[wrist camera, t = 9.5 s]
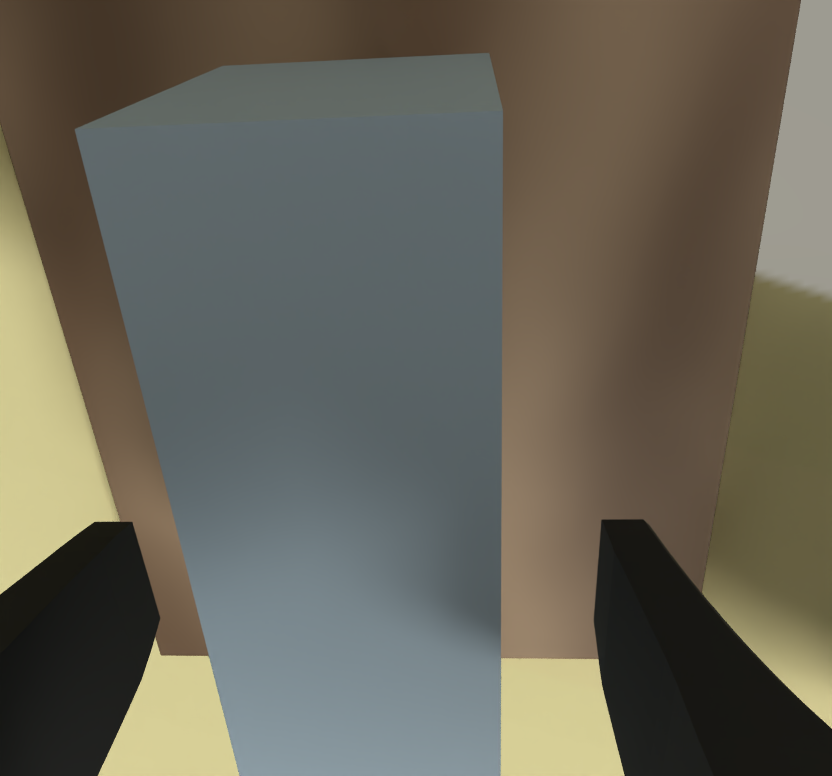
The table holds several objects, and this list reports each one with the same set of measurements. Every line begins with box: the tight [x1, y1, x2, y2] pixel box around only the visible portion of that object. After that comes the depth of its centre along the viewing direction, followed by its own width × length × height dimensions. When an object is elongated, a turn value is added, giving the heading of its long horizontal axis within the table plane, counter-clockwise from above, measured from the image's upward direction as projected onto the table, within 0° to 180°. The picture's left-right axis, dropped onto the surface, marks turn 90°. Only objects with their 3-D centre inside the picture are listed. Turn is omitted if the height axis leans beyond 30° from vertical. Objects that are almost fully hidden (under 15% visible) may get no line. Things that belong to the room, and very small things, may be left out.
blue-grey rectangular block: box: [75, 53, 503, 776], centre depth 13 cm, size 14×4×5 cm, turn 3°
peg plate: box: [0, 0, 801, 659], centre depth 17 cm, size 15×18×4 cm
